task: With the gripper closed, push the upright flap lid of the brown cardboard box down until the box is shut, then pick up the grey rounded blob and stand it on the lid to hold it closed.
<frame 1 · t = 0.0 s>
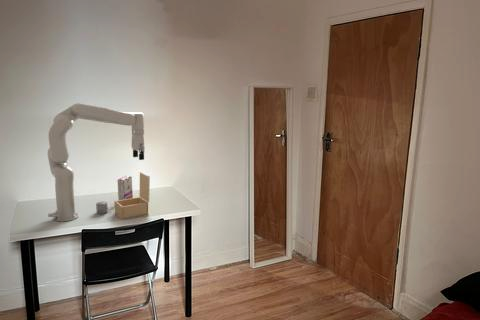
hand: (138, 158, 238), 31 cm above the table, tool pointing down, fingers open, 9 cm apart
grey rounded blob: (102, 212, 228), on the table
cardboard box: (131, 213, 227), on the table
box lid: (144, 186, 229), point 16 cm above the table, hinge at 92.0°
candy bar box: (125, 201, 251), on the table
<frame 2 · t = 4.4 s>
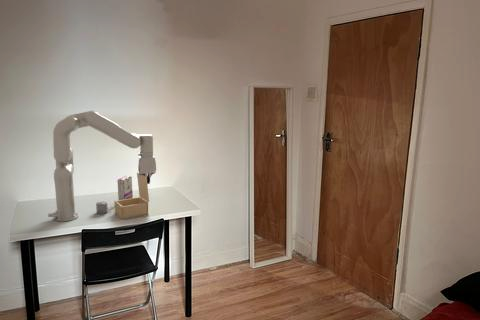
hand: (147, 183, 230), 18 cm above the table, tool pointing down, fingers closed
box lid: (142, 186, 228), point 16 cm above the table, hinge at 85.0°, touching gripper
everything else where it was.
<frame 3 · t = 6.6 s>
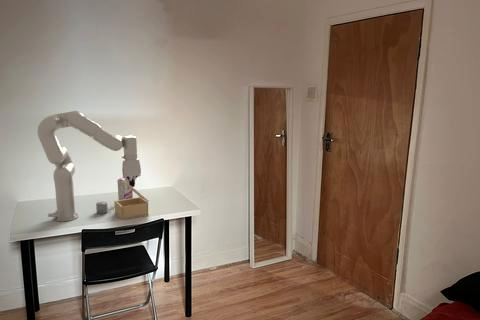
hand: (132, 186, 224), 17 cm above the table, tool pointing down, fingers closed
box lid: (135, 191, 226), point 14 cm above the table, hinge at 45.7°, touching gripper
everything else where it was.
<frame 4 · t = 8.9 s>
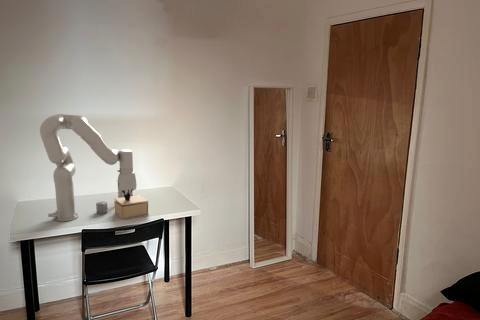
hand: (127, 200, 224), 9 cm above the table, tool pointing down, fingers closed
box lid: (131, 200, 225), point 9 cm above the table, hinge at 2.2°, touching gripper
everything else where it was.
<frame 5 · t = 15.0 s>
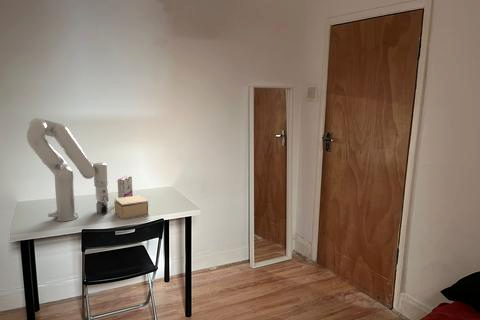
hand: (102, 211, 228), 1 cm above the table, tool pointing down, fingers closed on grey rounded blob, 6 cm apart
grey rounded blob: (102, 212, 228), on the table, touching gripper
box lid: (131, 200, 225), point 9 cm above the table, hinge at 2.2°
everything else where it was.
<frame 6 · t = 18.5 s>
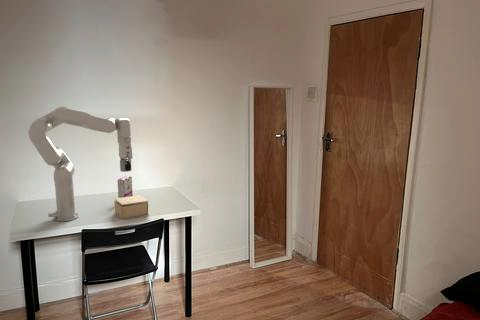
hand: (125, 169, 221), 28 cm above the table, tool pointing down, fingers closed on grey rounded blob, 6 cm apart
grey rounded blob: (126, 170, 222), point 27 cm above the table, touching gripper
everything else where it was.
when the fingers open (12 cm above the table, at t = 22.4 s): grey rounded blob drops 2 cm, resting on box lid.
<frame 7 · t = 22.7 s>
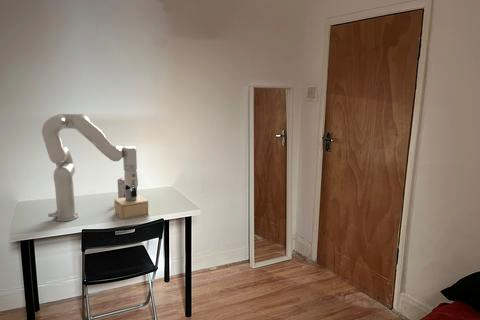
hand: (131, 194, 224), 12 cm above the table, tool pointing down, fingers open, 9 cm apart
grey rounded blob: (131, 199, 225), point 9 cm above the table, touching box lid
box lid: (131, 200, 225), point 9 cm above the table, hinge at 1.0°, touching grey rounded blob
everything else where it was.
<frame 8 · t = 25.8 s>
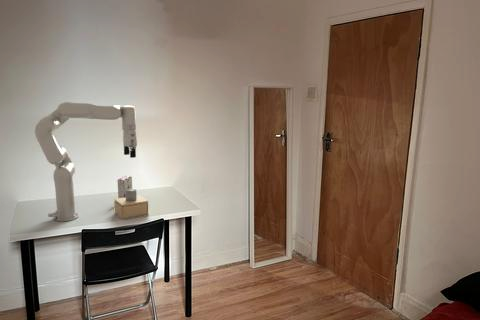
hand: (129, 156, 220), 36 cm above the table, tool pointing down, fingers open, 9 cm apart
nothing on the table moved.
at the end: box lid at +1° (first picture: +92°); grey rounded blob inside the target area on the cardboard box (0.1 cm from its centre), point 9.0 cm above the cardboard box's base; grey rounded blob tilted 1° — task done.
